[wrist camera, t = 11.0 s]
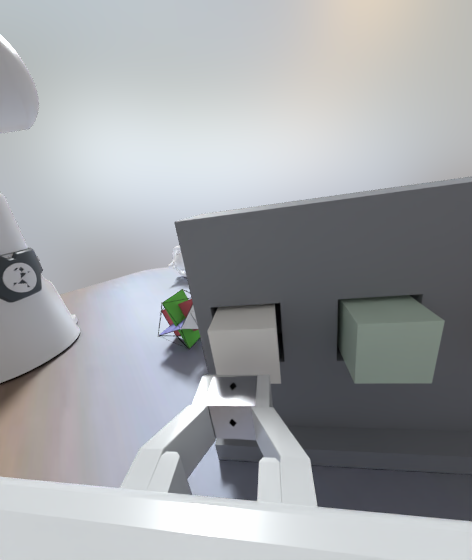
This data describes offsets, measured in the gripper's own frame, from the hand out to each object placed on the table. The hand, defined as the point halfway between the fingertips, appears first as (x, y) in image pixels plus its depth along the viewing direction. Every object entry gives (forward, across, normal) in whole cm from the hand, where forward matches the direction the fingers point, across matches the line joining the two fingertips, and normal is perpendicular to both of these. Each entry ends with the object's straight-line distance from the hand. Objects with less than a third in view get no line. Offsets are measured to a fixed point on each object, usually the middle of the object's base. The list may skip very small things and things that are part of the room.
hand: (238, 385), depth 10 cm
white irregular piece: (+43, +21, +9) cm, 48 cm away
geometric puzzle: (+17, +10, +9) cm, 21 cm away
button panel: (+6, -7, +9) cm, 13 cm away
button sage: (+3, -7, +2) cm, 8 cm away
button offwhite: (+3, 0, +2) cm, 4 cm away
